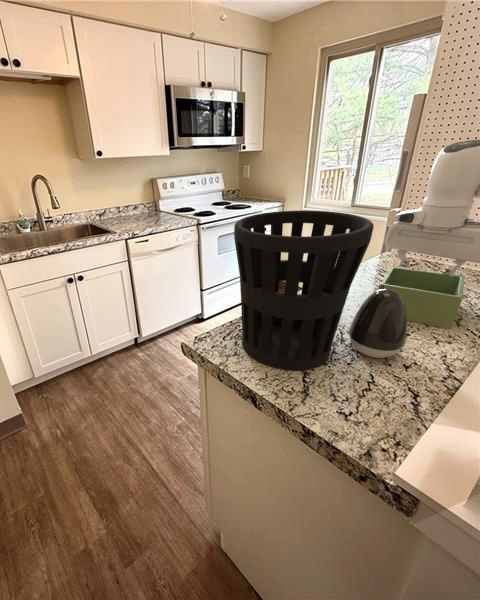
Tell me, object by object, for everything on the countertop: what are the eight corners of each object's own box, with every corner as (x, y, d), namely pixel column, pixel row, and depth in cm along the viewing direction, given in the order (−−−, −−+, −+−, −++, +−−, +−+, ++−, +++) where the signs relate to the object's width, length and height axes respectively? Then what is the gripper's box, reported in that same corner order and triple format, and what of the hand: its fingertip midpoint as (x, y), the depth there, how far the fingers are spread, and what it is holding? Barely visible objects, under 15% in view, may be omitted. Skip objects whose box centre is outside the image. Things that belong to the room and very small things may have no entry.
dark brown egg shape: (393, 341, 73) (411, 282, 66) (406, 368, 64) (428, 303, 58) (343, 335, 77) (355, 278, 70) (348, 359, 68) (363, 297, 62)
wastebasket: (363, 345, 72) (396, 215, 60) (308, 397, 59) (335, 246, 47) (267, 311, 91) (276, 207, 78) (209, 345, 78) (209, 227, 65)
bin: (384, 292, 95) (391, 266, 91) (453, 305, 85) (464, 276, 81) (372, 312, 85) (380, 284, 81) (450, 329, 75) (462, 297, 71)
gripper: (509, 219, 67) (486, 278, 73) (400, 210, 83) (388, 259, 89) (499, 224, 64) (475, 285, 70) (388, 214, 81) (376, 264, 87)
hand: (425, 270), depth 80 cm, fingers open, 8 cm apart
